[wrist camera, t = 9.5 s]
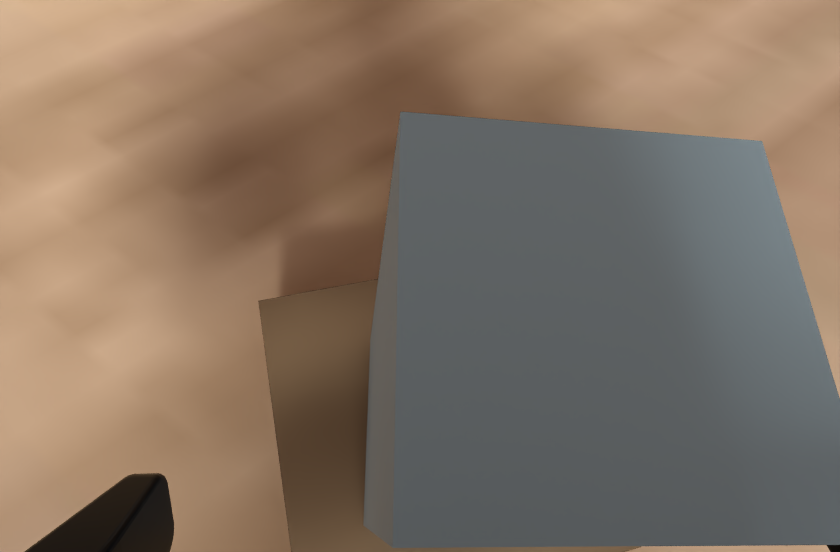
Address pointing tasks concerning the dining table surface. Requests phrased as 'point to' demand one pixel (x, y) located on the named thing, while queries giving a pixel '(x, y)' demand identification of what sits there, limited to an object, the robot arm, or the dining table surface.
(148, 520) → the robot arm
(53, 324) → the dining table surface
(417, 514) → the blue block
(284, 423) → the walnut block
